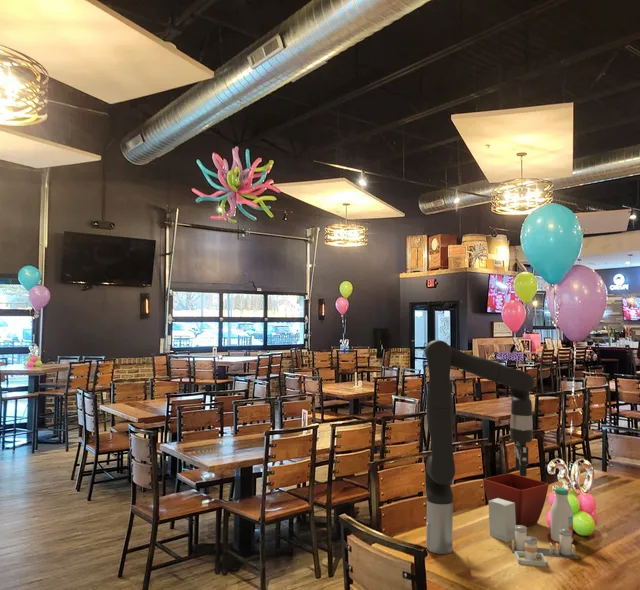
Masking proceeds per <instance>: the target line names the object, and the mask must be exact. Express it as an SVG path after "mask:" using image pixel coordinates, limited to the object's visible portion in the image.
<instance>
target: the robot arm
mask: <svg viewBox="0 0 640 590" xmlns="http://www.w3.org/2000/svg"><path fill="white" fill-rule="evenodd" d="M424 356H425V358H426V360H427V367H428V376H429V377H428V378H429V379H428V380H429V381H428V388H427V394H426V420H427V421H426V422H427V427H428V432H429V436H430V441H431V442H430V443H431V456H429V458H428V459H427V460H426V463H425V492H426V526H425V527H426V528H425V531H426V532H425V534H426V535H425V537H426V538H425V539H426V540H425V547H427V549H428V550H429V551H428V552H431V553H434V554H439V555H448V554H450V553H452V552H453V546H454V545H453V541H454V540H453V533H454V532H453V531H454V530H453V529H454V525H453V524H454V523H453V522H454V516H453V515H454V501H453V500H454V495H453V491H452V486H451V482H452V481H453V479H454V478H455V476H456V475H455V474H456V465H455V459H454V451H453V424H454V423H453V420H454V419H453V414H454V413H453V397H452V388H451V367H452V368H453V367H454V368H457V369H459V370H462V371H465V372H467V373H470V374H472V375H474V376H477V377H480V378H481V379H484V380H487V381H491V382H493V383H496V384H501V385H503V386H507V387H509V390H510V398H511V404H510V405H511V406H510V408H511V409H510V410H511V411H510V412H511V413H510V421H509V422H510V424H509V427H510V429H509V432H510V433H509V434H510V436H509V438H510V440H511V441H513V442H514V444H513V445H514V447H513V456H514V459H515V463H514V464H515V465H514V466H515V470H516V471H519V476H523V477H527V476H528V475H527V474H528V473H527V472H528V471H527V468H528V467H527V466H529V463H530V462H529V447H528V446H527V443H530V442H531V443H532V442H533V422H534V421H533V403H532V400H531V398H530V391H531V390H532V389H533V388H534V386H535V379H534V377H533V376H532V375H531V374H530V373H529V372H526V371H523V370H520V369H516V368H512V367H508V366H507V365H504V364H502V363H500V362H496V361H493V360H490V359H486V358H483V357H480V356H476V355H473V354H469V353H467V352H463V351H460V350H459V349H457V348H454V347H452V346H451V345H449V344H448V343H447V342H446V341H444V340H440V339H436V340H435V339H434V340H431V341H429V342H428V343H427V344H426V346H425V348H424ZM427 549H426V550H427Z"/></svg>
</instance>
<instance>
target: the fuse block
mask: <svg viewBox="0 0 640 590" xmlns="http://www.w3.org/2000/svg"><path fill="white" fill-rule="evenodd" d="M552 543H553V542H549V548H544V547H537V553H542V554H543V555H544V557H553V558H564V559H577V560H579V559H580V558H579V556H578V555H577V554H576V545H574V544H573V543H571V551H572V555H571V556H564V555H561V554H560V553H559V549H560V544H558V543H559V542H556V543H555V548H554V545H553V544H552ZM508 546H509V548H510V551H511V554H514V551H516V550H515V540H512V541H511V545H508Z"/></svg>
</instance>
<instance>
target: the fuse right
mask: <svg viewBox="0 0 640 590" xmlns="http://www.w3.org/2000/svg"><path fill="white" fill-rule="evenodd" d="M559 534H560V542H559V553H560V554H561V555H564V556H571V555H572V542H571V535H572V531H571V530H569V529H564V528H561V529H559Z"/></svg>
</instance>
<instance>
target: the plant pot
mask: <svg viewBox="0 0 640 590" xmlns="http://www.w3.org/2000/svg"><path fill="white" fill-rule="evenodd" d="M483 485H484V493H485V496H486V500H487V503H488V505H489V500H493V499H496V498H499V499H503V500H506V501H510V502H514V503H515V517H516V525H522V526H525V527H527V528H528V527H530V526H534V525H537V524H538V522H539V519H540V517H541V514H542V512H543V509H544V507H545V502H546V500H547V494H548V491H549V490H548V489H549V482H548V483H547V482H543V481H540V480H536V479H533V478H530V477H527V476H520V474H519V475H518V474H516V473H504V474H498V475H494V476H489V477H484V478H483Z"/></svg>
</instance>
